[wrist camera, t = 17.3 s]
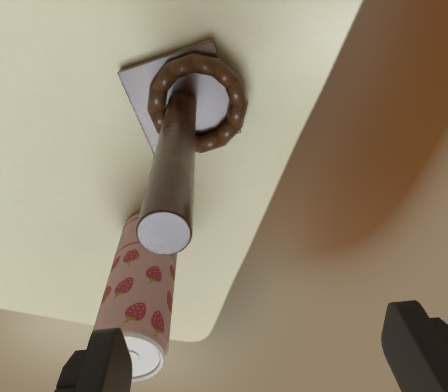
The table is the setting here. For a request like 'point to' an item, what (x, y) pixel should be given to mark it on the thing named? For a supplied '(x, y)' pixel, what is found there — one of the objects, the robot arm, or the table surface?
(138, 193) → the table surface
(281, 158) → the table surface
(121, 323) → the beverage can
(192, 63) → the ring
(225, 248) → the table surface
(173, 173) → the post
